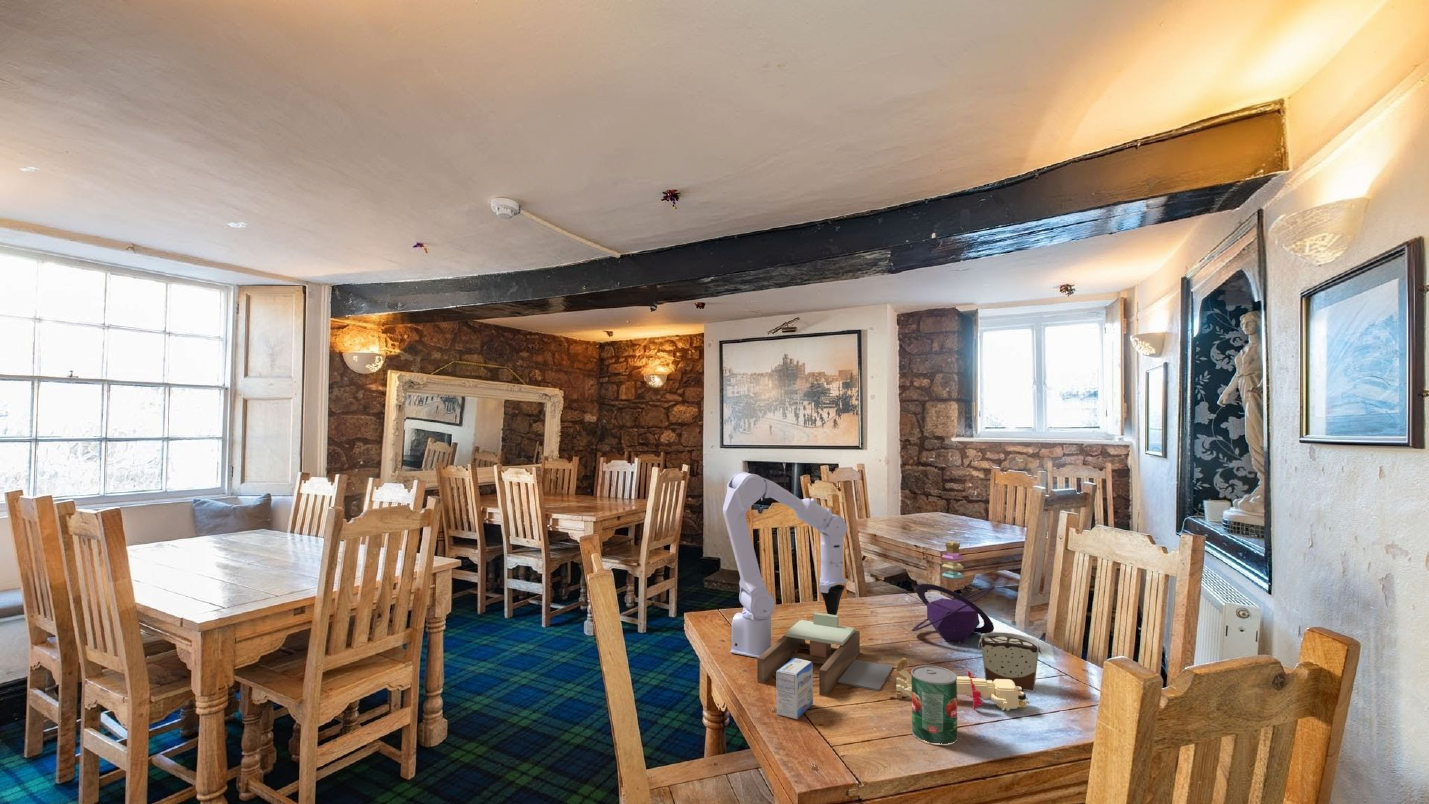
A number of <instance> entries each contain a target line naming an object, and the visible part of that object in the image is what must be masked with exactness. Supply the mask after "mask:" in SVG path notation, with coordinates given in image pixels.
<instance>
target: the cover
mask: <svg viewBox="0 0 1429 804" xmlns="http://www.w3.org/2000/svg"><path fill="white" fill-rule="evenodd" d="M812 615H813V618H812V619H813V621H810V620H803V619H800V620H798V621H797V622H796V623H795V624H793V625H792V626H791V627H790V628H789V629H787V631H785V633H784V635H785V636H787V637H793V638H799V639H805V641H810V640H811V641H817V642H823V643H829V644H831V645H836V646H840V645H841V646H843V645H844V644H845V642H846V641H847V640H848V639H849V638H850V637H851V635H852V634H853V633H854V632H855V631H856V628H855V627H852V626H843V625H840V623H839V622H840V621H839V620H840V618H839V615H838V614H837V615H831V614H827V613H825V612H824V613H822V612H814V613H813V614H812Z"/></svg>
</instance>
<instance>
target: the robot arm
mask: <svg viewBox="0 0 1429 804" xmlns="http://www.w3.org/2000/svg"><path fill="white" fill-rule="evenodd" d="M726 488H727V490H726V491H727V492H726V495H725V498H724V502H723V507H722V514H723V519H724V521H725V525H726V529H727V533H728V536H729V541H730V545H731V547H732V552H733V555H734V559H735V563H736V566H737V570H738V574H739V578H740V579H739V582H738V584H739V596H738V598H739V599H738V600H739V603H740V604H741V605H742V607H743V608H742V612H736V613H734V615H733V618H732V621H731V650H730V654H736V655H741V656H747V657H752V658H758V657H759V656H760V655H762V654H763V653H764V652H765V651H766V650H767V649H769V648H770V647H771V646H772V614H773V613H774V611H775V608H776V603H775V599H774V597H773V596H772V595H771V594H770V592H769V591H768V586H767V585H766V583H765V580H764V579H763V577H762V575H761V571H760V567H759V563H758V559H757V556H756V555H757V554H756V551H755V547H754V544H753V540H752V537H751V534H750V529H749V526H748V522H747V518H746V514H747V512H748V511H749V509H750V508H751V506H752V505H754V504H755V503H757V501H759V500H760V499H761V498H763V499H768V498H771V499H773V500H775V501H777V502H779V503H780V504H782V505H784V506H787V507H788V508H790V509H792V510H793V511H794V514H795V517H796V518H797V519H798V520H800V521H802V522H803V523H805V524H806V525H808V526H810V527H812V528H814V529H815V530H817V531H818V532H819V534H820V577H819V582H820V584H819V586H818V589H819V593H820V594H821V596H822V598H823V601H824V605H825V610H826V614H831V615H837V616H838V612H839V611H838V610H839V606H840V601H841V597H842V595H843V592H844V590H845V585H843V584H847V583H849V578H845V575H844V574H845V573H844V537H845V535H847V531H848V525H847V524H846V521H845V519H844V518H843V517H842V516H840V515H838V514H835V513H832V510H833V509H831V508H825V507H823V505H820V504H819V503H818V500H817V499H815V498H812V497H811V498H808V497H806V498H803V499H801V498H799V497H798V496H796V495H795V494H793V493H791V492H789V491H788V490H787V489H785V488H784V487H781V485H779V484H778V483H776V482H774V481H772V480H770V479H768V478H764V477H762V476H760V475H759V474H755V473H749V472H746V471H738V472H736V473H735V474H733V476H732V477H731V478H730V480H729V481H728V483H727V484H726Z"/></svg>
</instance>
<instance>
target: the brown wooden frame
mask: <svg viewBox="0 0 1429 804" xmlns="http://www.w3.org/2000/svg"><path fill="white" fill-rule="evenodd" d="M860 634H861V633H860V630H855V632H854V633H853V634H852V635H851V637H850V638H849V639H848V640H847V641H846V642H845V644H844V645H843V646H841V645H838V648H837V647H833V646H831V653H832V654H831V656H830V657H829V658H824V657H818V656H813V655H810V654H807V653H800V652H798V651H800V649H802V648H803V649H804V650H809V651H810V643H807V642H806V640H805V639H799V638H793V637H787V636H785V634H784V635H783V636H782V637H781V638H779V639H778V640H777V641H775V643H773V644H771V647H770V648H769V649H767V650H766V651H765V652H764V653H763V654H762V655H760V656H759V657H758V658H757V657H756V658H757V661H756V662H757V664H756V666H757V667H756V668H757V669H756V671H757V672H756V674H757V676H756V677H757V683H760V684H765V683H766V682H767V681H768V680H769V679H770V678H771V677H772V676H773V675H774V674H775V673H776V671H777V670H779V669H780V668H781V667H783V666H784V665H785V664H786V663H788V662H789V661H790V660H791V659H793V658H797V659H803V660H807V661H811V662H812V663H817V664H820V665H821V664H822V665H821V667H820V668H819V670H818V672H819V673H818V675H819V677H818V679H819V682H818V684H819V686H818V692H819V693H818V694H819V696H824V697H827V696H828V694H830V692H831V691H832V690H833V688H834V687H835V686H836V685H837V684H838V680H839V679H840V678H841V676H842V675H843V674H844V672H845V671H846V670H847V668H848V667H849V666H850V665H851V663H852V662H853V661H854V659H855V660H856V658H857V657H858V655H860V653H861V651H860V649H861V646H860V643H861V642H860V640H861V639H860V637H861V635H860Z"/></svg>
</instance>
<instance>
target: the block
mask: <svg viewBox="0 0 1429 804" xmlns="http://www.w3.org/2000/svg"><path fill="white" fill-rule="evenodd" d="M809 644H810V650H809V655H813V656H818V657H824V658H830V657H831V656H832V654H831V647H832V644H829V643H823V642H817V641H811V640H809Z"/></svg>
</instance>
